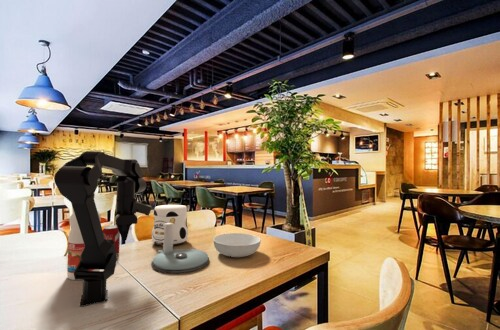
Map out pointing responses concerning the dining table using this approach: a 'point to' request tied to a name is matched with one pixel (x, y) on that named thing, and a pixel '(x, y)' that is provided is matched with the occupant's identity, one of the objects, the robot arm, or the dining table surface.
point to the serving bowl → (236, 244)
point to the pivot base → (179, 255)
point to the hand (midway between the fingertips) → (124, 240)
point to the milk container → (170, 215)
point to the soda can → (112, 235)
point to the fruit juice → (75, 247)
